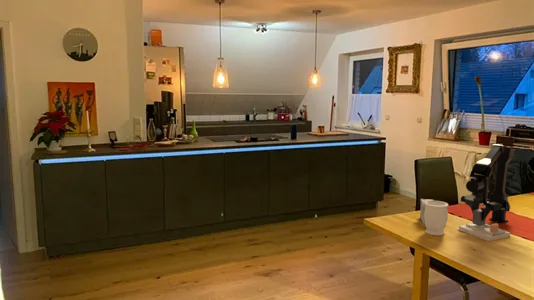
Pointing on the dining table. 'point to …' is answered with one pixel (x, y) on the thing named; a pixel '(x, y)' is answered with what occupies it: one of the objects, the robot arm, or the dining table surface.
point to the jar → (435, 217)
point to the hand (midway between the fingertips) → (479, 219)
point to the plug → (478, 217)
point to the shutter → (494, 229)
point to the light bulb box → (423, 209)
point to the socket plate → (482, 232)
